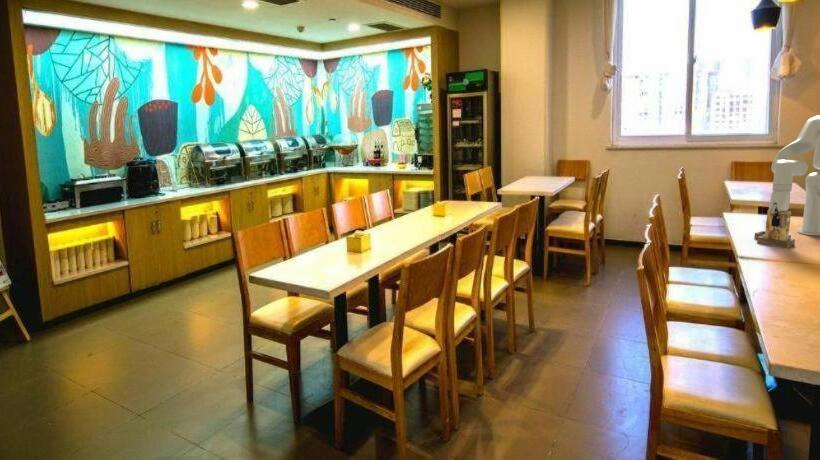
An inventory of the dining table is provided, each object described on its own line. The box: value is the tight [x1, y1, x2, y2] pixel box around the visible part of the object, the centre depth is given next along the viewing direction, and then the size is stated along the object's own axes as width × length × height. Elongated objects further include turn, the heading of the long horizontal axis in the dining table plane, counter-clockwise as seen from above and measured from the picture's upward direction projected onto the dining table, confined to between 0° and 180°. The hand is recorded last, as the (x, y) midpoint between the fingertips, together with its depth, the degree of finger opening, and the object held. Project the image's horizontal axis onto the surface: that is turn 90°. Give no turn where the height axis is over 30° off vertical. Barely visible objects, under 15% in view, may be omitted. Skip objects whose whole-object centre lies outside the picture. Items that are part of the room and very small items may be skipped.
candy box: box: [765, 209, 792, 241], centre depth 265 cm, size 9×4×15 cm, turn 34°
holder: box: [754, 230, 796, 249], centre depth 270 cm, size 16×18×3 cm
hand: (777, 225), depth 265 cm, fingers closed on candy box, 4 cm apart
